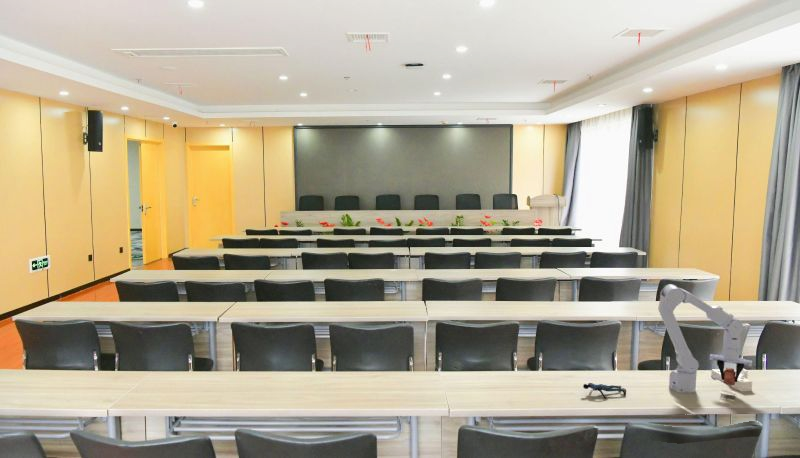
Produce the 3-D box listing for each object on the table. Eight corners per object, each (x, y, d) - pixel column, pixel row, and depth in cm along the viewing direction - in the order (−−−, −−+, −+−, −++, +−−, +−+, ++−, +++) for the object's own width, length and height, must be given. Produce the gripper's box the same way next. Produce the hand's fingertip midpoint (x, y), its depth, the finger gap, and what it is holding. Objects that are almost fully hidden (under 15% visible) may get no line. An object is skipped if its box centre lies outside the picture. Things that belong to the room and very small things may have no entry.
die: (740, 394, 225) (741, 382, 225) (731, 389, 230) (732, 377, 230) (751, 393, 226) (752, 381, 226) (741, 388, 231) (742, 376, 231)
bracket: (746, 388, 232) (747, 370, 231) (730, 388, 232) (731, 370, 231) (726, 377, 245) (727, 360, 244) (711, 377, 245) (712, 360, 244)
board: (735, 407, 212) (735, 404, 212) (717, 403, 215) (717, 401, 215) (737, 394, 225) (737, 392, 224) (720, 391, 228) (720, 388, 228)
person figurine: (616, 392, 231) (576, 388, 228) (618, 382, 230) (577, 378, 228) (630, 403, 220) (588, 399, 217) (632, 392, 220) (590, 387, 217)
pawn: (728, 385, 221) (729, 371, 221) (721, 381, 225) (721, 367, 224) (737, 384, 222) (738, 370, 221) (729, 380, 226) (730, 366, 225)
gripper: (709, 346, 223) (707, 379, 224) (752, 353, 215) (750, 387, 216) (711, 342, 229) (709, 374, 230) (752, 348, 221) (750, 381, 222)
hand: (729, 380), depth 223 cm, fingers closed on pawn, 4 cm apart
